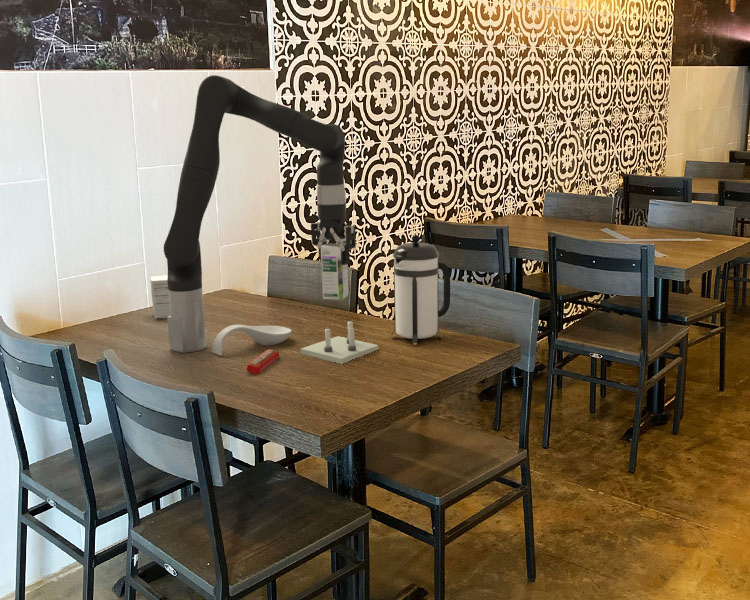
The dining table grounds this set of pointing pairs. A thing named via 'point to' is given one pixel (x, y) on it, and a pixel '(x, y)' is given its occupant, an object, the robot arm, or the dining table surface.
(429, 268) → the coffee press
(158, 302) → the mini drawer cabinet
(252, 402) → the dining table surface
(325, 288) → the syrup box
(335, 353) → the pale green square stand
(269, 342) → the spoon rest
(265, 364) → the candy bar
